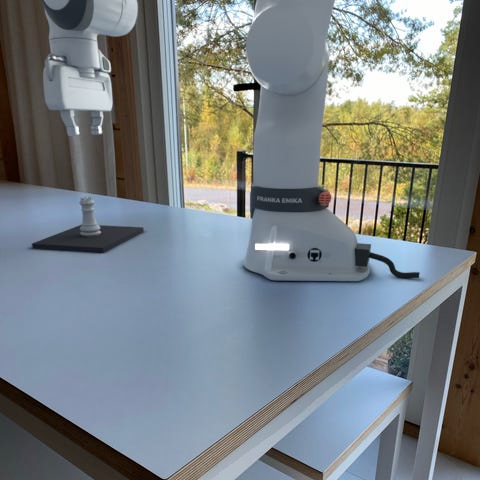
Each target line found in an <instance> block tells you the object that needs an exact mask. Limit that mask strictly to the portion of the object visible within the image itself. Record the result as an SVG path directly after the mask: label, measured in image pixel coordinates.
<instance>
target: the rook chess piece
mask: <svg viewBox="0 0 480 480" xmlns="http://www.w3.org/2000/svg"><path fill="white" fill-rule="evenodd" d="M79 199H80V200H79V202H78V204H79V205H80V206H81V209H80V211H81V212H82V214H81V215H82V222H81V223H80V225H82V226H81V227H80V230H81V231H82V232H81V233H80V234H81V235H82V236H84V237H94V236H98V235H100V233H101V232H100V231H99V229H100V226H99V225H100V224H99V223H98V222H97V219H96V216H95V215H96V214H95V210H96V209H95V208H94V205H95V203H96V201H94V198H93V197H92V196H88V197H87V196H84V197H80V198H79Z"/></svg>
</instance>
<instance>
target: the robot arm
mask: <svg viewBox="0 0 480 480" xmlns="http://www.w3.org/2000/svg"><path fill="white" fill-rule="evenodd" d="M41 3H42V6H43V8H44V14H45V17H46V20H47V21H48V22H47V23H48V26H49V27H48V28H49V32H48V33H49V34H48V43H49V49H50V50H49V51H50V53H49V54H47V56H46V58H45V60H44V68H43V70H42V71H43V72H42V79H43V81H42V82H43V94H44V102H45V105H46V107H47V109H48V110H50V111H59V113H60V118H61V120H62V122H63V123H64V126H65V128H66V134H67V136H68V137H78V136H80V129H79V126H77V124H76V121H75V119H74V117H75V112H90V117H91V118H92V123H91V125H90V133H91V135H93V136H101V135H102V134H103V128H102V126H103V121H104V112H105V113H106V112H112V109H113V103H114V102H113V88H112V81H111V76H110V74H109V73H111V72H112V66H111V62H110V60H109V59H108V58H107V57H106V56H105V55H104V54H103V53H102V50H100V49H99V45H98V44H99V43H98V36H99V35H102V36H103V35H104V36H107V37H108V36H109V37H115V38H116V37H123V36H124V37H125V36H127V35H129V34H130V33H131V32H132V31H133V29H134V28H135V26H136V24H137V21H138V17H139V0H41ZM335 3H336V0H256V2H255V7H254V11H253V16H252V21H251V25H250V27H249V30H248V32H247V35H246V40H245V55H246V61H247V64H248V67H249V70H250V72H251V74H252V75H251V76H253V78H254V80H256V82H257V83H258V84H259V85H260V95H259V102H258V103H259V104H258V105H259V107H258V113H257V119H256V124H255V125H256V126H255V129H254V134H253V176H252V177H253V179H252V181H253V183H252V185H250V192H249V213H250V215H249V216H250V219H251V224H250V231H249V238H248V244H247V247H246V248H247V249H246V253H245V257H244V259H243V262H242V265H243V267H244V268H245V269H247V270H248V271H250V272H253V273H256V274H259V275H262V276H263V277H265V279H266V278H267V279H268V280H270V281H280V282H281V281H290V282H291V281H293V282H295V281H298V282H360V281H363V280H366V279H367V278H368V276H369V275H370V273H371V271H370V270H371V268H370V267H371V266H370V265H371V264H370V260H371V259H372V260H375V261H378V262H382V263H383V264H385V265H386V266H387V267H388V269H389V272H390V273H391V274H392V276H394V277H397V278H399V279H420V275H421V274H420V273H421V272H419V271H409V272H402V271H399V270H398V269H396V266H395V263H394V262H393V260H391V259H390V258H389V257H386V256H384V255H382V254H378V253H375V252H373V251H371V249H372V244H370V243H361V242H360V243H359V242H358V239H357V236H356V233H355V232H354V230H353V229H352V228H351V227H350V226H348V224H346V223H345V222H344V221H343V220H342V219H341V218H339V217H338V216H337V215H336V214H334V213H333V212H332V211H331V210H330V209H329V206H330V203H331V201H332V194H331V193H330V191H329V190H328V189H326V188H325V187H322V186H321V185H319V177H320V163H321V147H322V135H323V134H322V133H323V125H324V115H325V106H326V96H327V89H328V88H327V87H328V85H327V84H328V76H329V64H330V51H329V47H328V43H327V38H328V33H329V27H330V23H331V19H332V14H333V10H334V5H335Z"/></svg>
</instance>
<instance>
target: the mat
mask: <svg viewBox="0 0 480 480" xmlns="http://www.w3.org/2000/svg"><path fill="white" fill-rule="evenodd" d="M98 225H99V226H100V229H99V231H100V232H101V233H100V235H98V236H94V237H84V236H82V235H81V234H80V233H81V232H82V231H81V230H80V227H81V226H82V225H81V224H79V225H77V226H74V227H71V228H69V229H66V230H63V231H61V232H58V233H56V234H53V235H51V236H48V237H46V238H42V239H40V240H37V241H34V242H32V243H31V248H32V249H40V250H56V251H68V252H88V253H101V254H104V253H106V252H108V251H110V250H112V249H113V248H115V247H118V246H119V245H121V244H123V243H126V242H128V240H130V239H132V238H134V237H136V236H138V235H140V234H142V233H144V230H145V229H144V227H141V226H125V225H124V226H122V225H104V224H103V225H102V224H98Z"/></svg>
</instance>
